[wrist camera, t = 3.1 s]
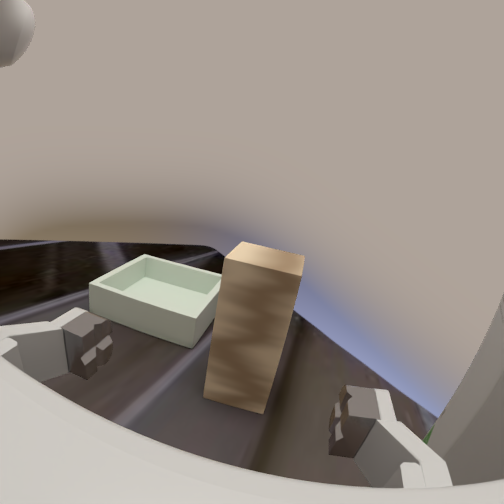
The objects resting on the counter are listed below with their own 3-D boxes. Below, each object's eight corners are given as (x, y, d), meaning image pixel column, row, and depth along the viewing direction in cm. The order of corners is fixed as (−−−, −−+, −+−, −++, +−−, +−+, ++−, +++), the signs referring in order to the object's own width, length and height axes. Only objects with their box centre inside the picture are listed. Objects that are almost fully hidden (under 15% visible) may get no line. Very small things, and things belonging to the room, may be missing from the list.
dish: (89, 311, 32) (89, 282, 31) (142, 277, 44) (144, 254, 43) (192, 348, 30) (196, 318, 29) (226, 301, 42) (230, 276, 41)
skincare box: (409, 455, 19) (503, 276, 15) (471, 480, 15) (578, 309, 11) (370, 529, 13) (522, 314, 8) (449, 558, 9) (623, 360, 5)
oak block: (203, 397, 24) (224, 257, 20) (219, 365, 28) (242, 241, 25) (263, 414, 23) (301, 276, 20) (272, 379, 28) (304, 256, 25)
